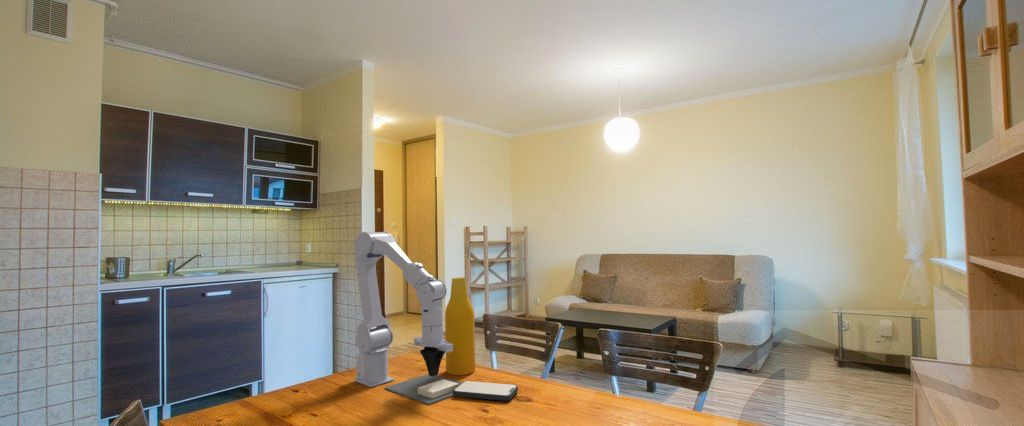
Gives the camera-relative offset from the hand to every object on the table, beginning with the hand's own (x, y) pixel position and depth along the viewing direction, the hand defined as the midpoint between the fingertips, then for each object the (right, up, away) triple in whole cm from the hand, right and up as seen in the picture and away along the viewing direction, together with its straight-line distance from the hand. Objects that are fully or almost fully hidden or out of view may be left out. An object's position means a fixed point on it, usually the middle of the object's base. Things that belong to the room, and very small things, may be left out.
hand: (433, 375), depth 125 cm
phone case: (+14, -4, -4) cm, 15 cm away
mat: (-1, -5, +3) cm, 5 cm away
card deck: (-1, -3, +1) cm, 3 cm away
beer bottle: (+6, -5, +18) cm, 19 cm away
